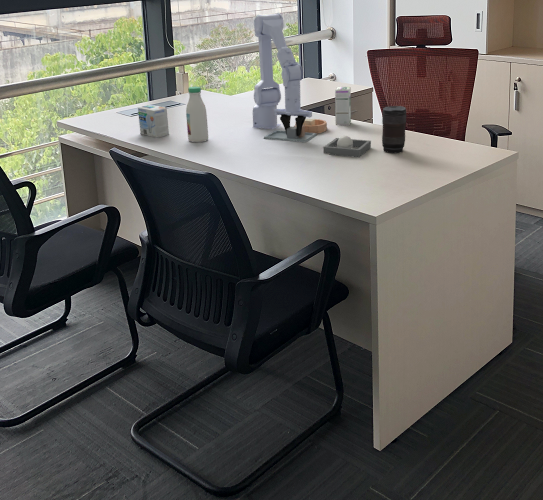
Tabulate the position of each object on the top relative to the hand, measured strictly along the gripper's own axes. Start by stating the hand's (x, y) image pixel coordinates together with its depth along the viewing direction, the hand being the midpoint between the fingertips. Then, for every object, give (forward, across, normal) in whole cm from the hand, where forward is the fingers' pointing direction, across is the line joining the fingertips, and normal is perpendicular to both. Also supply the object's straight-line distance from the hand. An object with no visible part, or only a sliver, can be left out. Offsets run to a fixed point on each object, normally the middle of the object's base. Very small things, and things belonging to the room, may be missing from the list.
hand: (293, 135), depth 254 cm
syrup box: (+2, +10, +29) cm, 31 cm away
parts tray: (+2, -2, +2) cm, 3 cm away
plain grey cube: (+1, 0, 0) cm, 1 cm away
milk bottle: (+2, -34, -12) cm, 37 cm away
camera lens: (+2, +40, -4) cm, 40 cm away
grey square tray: (+2, +24, -9) cm, 26 cm away
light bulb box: (+2, -56, -9) cm, 57 cm away
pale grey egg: (+2, +24, -9) cm, 26 cm away
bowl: (+2, +2, +14) cm, 14 cm away
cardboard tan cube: (+1, +1, +3) cm, 4 cm away
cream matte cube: (+1, +1, +12) cm, 12 cm away
